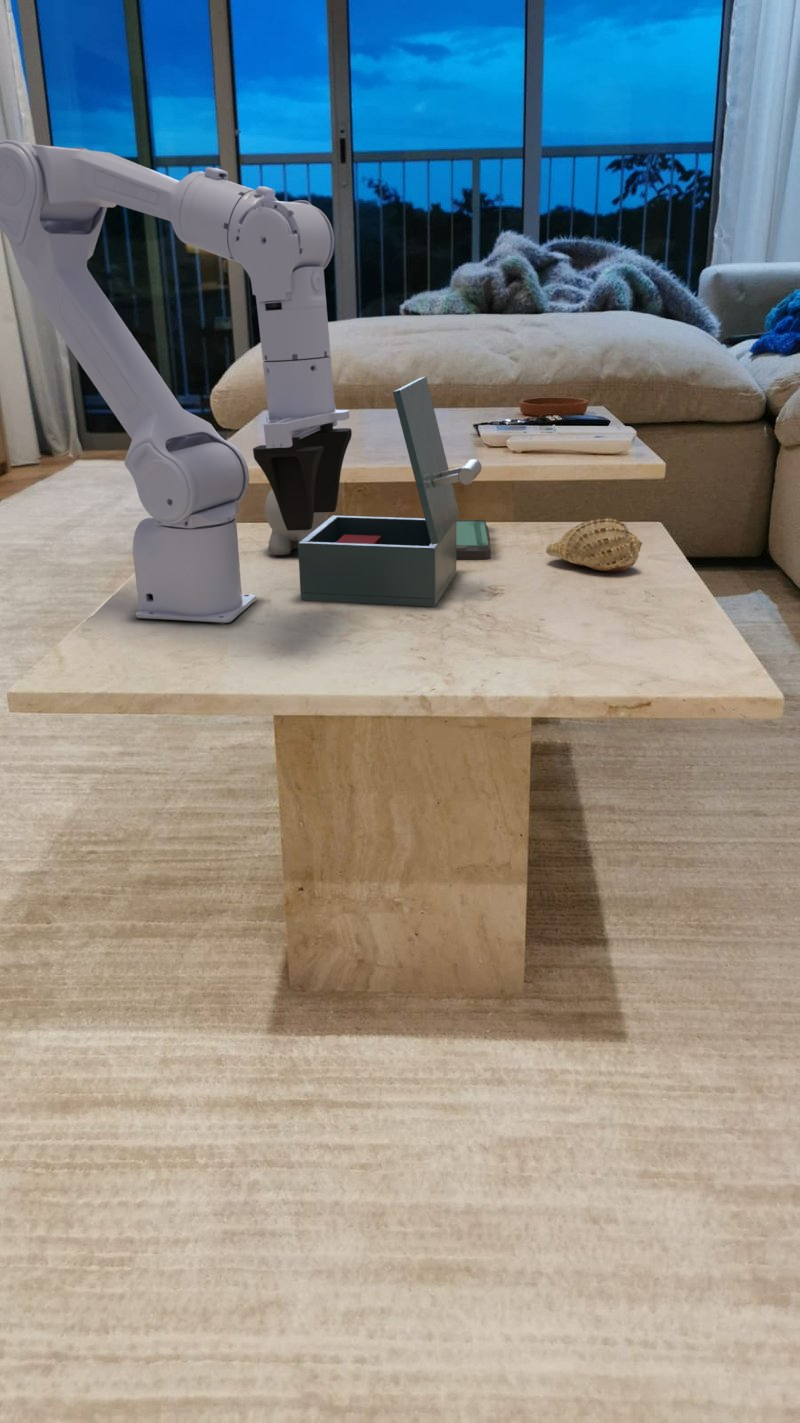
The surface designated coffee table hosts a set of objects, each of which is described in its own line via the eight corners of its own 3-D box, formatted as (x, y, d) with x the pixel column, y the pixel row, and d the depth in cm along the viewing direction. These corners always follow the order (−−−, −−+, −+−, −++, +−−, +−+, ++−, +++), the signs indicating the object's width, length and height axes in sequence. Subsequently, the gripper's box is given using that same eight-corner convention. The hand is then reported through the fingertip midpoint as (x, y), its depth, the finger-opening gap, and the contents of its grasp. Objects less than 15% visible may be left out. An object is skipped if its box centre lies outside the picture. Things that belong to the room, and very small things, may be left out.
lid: (392, 391, 97) (443, 378, 96) (419, 378, 108) (465, 365, 107) (431, 545, 102) (480, 534, 100) (453, 516, 113) (497, 506, 112)
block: (335, 581, 110) (333, 543, 108) (345, 571, 113) (344, 534, 112) (373, 583, 109) (372, 544, 107) (382, 573, 113) (381, 535, 111)
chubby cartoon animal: (343, 535, 132) (340, 465, 129) (322, 560, 121) (318, 484, 118) (286, 534, 133) (282, 464, 130) (260, 558, 122) (255, 483, 119)
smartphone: (426, 549, 120) (427, 518, 134) (427, 560, 121) (427, 528, 134) (492, 548, 120) (487, 518, 134) (492, 559, 120) (486, 528, 134)
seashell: (560, 601, 115) (649, 565, 111) (537, 550, 113) (628, 512, 110) (564, 581, 122) (648, 546, 118) (543, 533, 120) (628, 497, 117)
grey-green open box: (300, 600, 107) (297, 543, 104) (334, 567, 118) (332, 515, 116) (435, 607, 104) (435, 548, 102) (456, 572, 115) (456, 519, 113)
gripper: (318, 362, 82) (333, 537, 87) (363, 350, 96) (375, 503, 100) (231, 367, 84) (251, 538, 89) (288, 355, 97) (303, 505, 102)
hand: (312, 520), depth 95 cm, fingers open, 7 cm apart
